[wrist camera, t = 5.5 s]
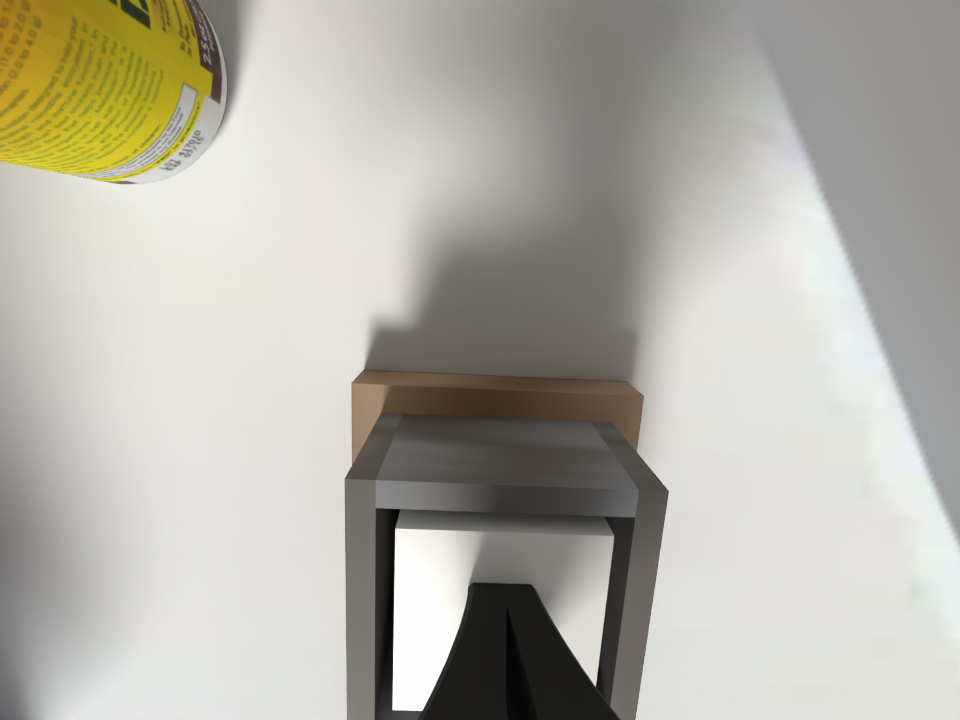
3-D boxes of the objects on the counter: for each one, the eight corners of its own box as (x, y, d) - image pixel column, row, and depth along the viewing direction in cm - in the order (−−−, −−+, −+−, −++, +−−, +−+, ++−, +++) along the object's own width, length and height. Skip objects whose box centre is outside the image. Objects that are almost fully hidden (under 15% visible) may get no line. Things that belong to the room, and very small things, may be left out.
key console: (363, 849, 19) (321, 1088, 13) (363, 369, 15) (301, 438, 9) (570, 852, 19) (609, 1088, 14) (626, 381, 15) (714, 455, 10)
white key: (406, 624, 13) (392, 710, 11) (410, 472, 12) (395, 528, 10) (569, 629, 13) (592, 714, 11) (585, 479, 12) (614, 536, 10)
